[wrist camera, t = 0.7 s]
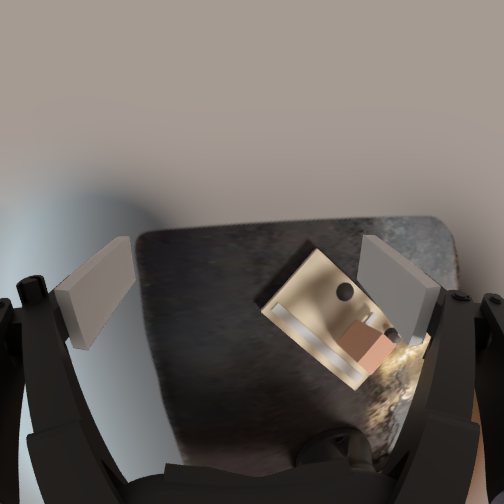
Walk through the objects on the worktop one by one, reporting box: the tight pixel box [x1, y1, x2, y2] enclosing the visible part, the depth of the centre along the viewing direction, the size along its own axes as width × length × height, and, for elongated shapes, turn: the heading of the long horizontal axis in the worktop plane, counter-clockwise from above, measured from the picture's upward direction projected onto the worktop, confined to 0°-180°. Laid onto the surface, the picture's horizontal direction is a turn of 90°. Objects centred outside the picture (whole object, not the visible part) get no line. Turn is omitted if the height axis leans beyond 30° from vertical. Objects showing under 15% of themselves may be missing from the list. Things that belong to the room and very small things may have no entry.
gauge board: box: [261, 249, 401, 390], centre depth 43 cm, size 22×13×4 cm, turn 48°
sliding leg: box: [336, 312, 396, 375], centre depth 37 cm, size 3×8×10 cm, turn 138°
